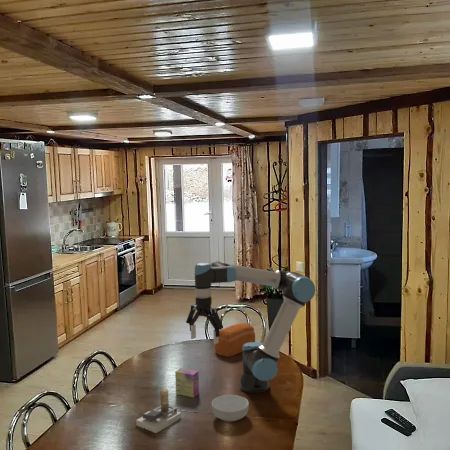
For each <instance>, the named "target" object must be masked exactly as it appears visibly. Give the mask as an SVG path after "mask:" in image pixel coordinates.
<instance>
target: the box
mask: <svg viewBox="0 0 450 450" xmlns="http://www.w3.org/2000/svg"><path fill="white" fill-rule="evenodd" d="M174 373H175V395H180V396H184V397H190V398H195V397H196V396H197V395H199V394H198V393H199V391H200V386H199V385H200V383H199V381H200V380H199V376H200V375H199V371H198V370H193V369H188V368H182V367H180V368H179V369H178V370H176V371H175V372H174Z"/></svg>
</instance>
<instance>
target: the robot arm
mask: <svg viewBox="0 0 450 450" xmlns="http://www.w3.org/2000/svg"><path fill="white" fill-rule="evenodd" d="M193 274H194V290H195V291H194V294H195V300H194V301H195V304H192V305H190V311H189V312H188V315H187V318H186V320H185V323H186V324H187V325H189V331H190V339H191V340H194V339H196V338H197V327H196V324H195V323H196V321H198V319H199V318H200V317H204V318H205V317H206V319H208V322H209V323H210V324H211V325H212V327H213V332H212V333H213V345H215V344H217V343H219V339H218V337H219V335H220V333H219V331H220V330H222V329H224V326H223V324H222V321H221V319H220V315H219V313H218V308H217V307H213V308H212V302H213V301H212V284H221V283H227V284H229V283H233V282H236V281H238V282H242V283H249V284H255V285H262V286H268V287H272V288H273V289H275V290H279V291H282V292H283V294H282V298H283V302H282V303H281V306H280V307H279V310H278V311H277V314H276V316H275V317H274V320H273V322H272V325H271V327H270V328H269V331H268V332H267V334H266V337H265V339H264V340H263V342H261V341H255V342H250V343H246V344H244V345H243V350H242V351H243V352H242V374H241V378H240V381H239V388H240V389H241V391H243V392H246V393H251V394H257V393H259V394H260V393H263V392H266V391H267V390H269V388H270V382H269V381H271V380H272V379H274V378H275V377H276V375H277V373H278V371H279V370H278V369H279V367H278V362H279V360H280V358H281V357H280V350H281V348H282V346H283V344H284V342H285V340H286V338H287V336H288V334H289V333H290V330H291V328H292V325H293V323H294V322H295V319H296V317H297V316H298V313H299V311H300V309H301V308H304V307H305V306H306V305H307V302H309V301H311V300H313V298H314V296H315V295H316V294H315V293H316V286H315V283H314V282H313V280H312V279H310V277H307V276H306V275H303V274H301V273H299V272H296V271H288V270H287V271H285V270H279V269H277V270H275V271H272V270H266V269H260V268H255V267H254V268H253V267H249V266H243V265H237V264H231V263H223V262H221V261H217V260H216V261H212V262H209V263H208V262H200V263H196V264H195V265H194V273H193Z"/></svg>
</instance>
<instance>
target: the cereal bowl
mask: <svg viewBox="0 0 450 450" xmlns="http://www.w3.org/2000/svg"><path fill="white" fill-rule="evenodd" d="M249 408H250V405H249V400H248V398H245V397H244V396H241V395H236V394H223V395H220V396H217V397H215V398H213V400H212V401H211V410H212V413H213V415H214V416H215V417H216V418H218V419H219V420H221V421H224V422H235V421H238V420H239V421H240V420H241V419H243V418H244V417H245V416H246V415H247V413H248V411H249Z"/></svg>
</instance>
